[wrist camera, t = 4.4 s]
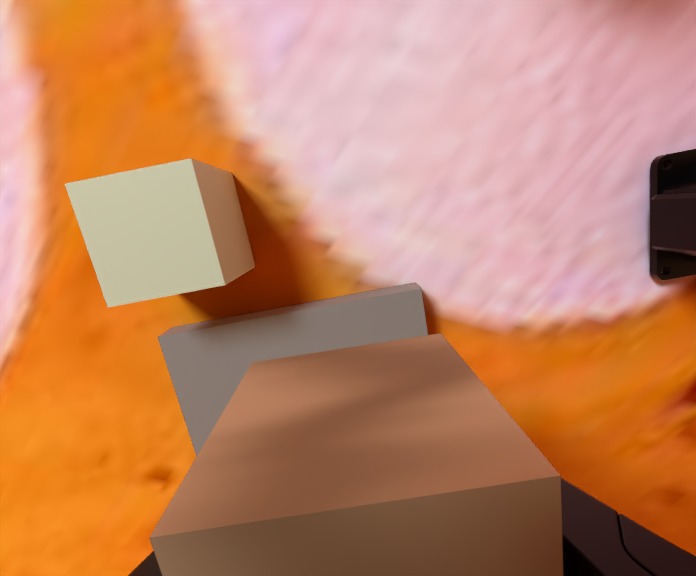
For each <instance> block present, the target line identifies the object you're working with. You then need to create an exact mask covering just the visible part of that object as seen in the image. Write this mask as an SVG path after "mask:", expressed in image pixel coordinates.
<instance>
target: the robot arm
mask: <svg viewBox="0 0 696 576" xmlns="http://www.w3.org/2000/svg"><path fill="white" fill-rule="evenodd" d="M663 162H665V168H664V169H663V167H662V165H663ZM663 267H664V271H663V272H662V273H661V271H662V269H663ZM650 272H651V275H652V276H653V277H654V278H657V279H661V280H668V279H673V278H679V277H684V276H690V275H695V274H696V149H693V150H687V151H682V152H677V153H672V154H667V155H662V156H658V157H656V158H655V159H654V160H653V162H652V163H651V168H650ZM561 509H562V547H563V576H696V556H694V555H692V554H691V553H689V552H687V551H685V550H683V549H681V548H679V547H677V546H676V545H674V544H672V543H670V542H669V541H667V540H665V539H664V538H662V537H660V536H658V535H657V534H655V533H653V532H651V531H650V530H648V529H646V528H644V527H643V526H641V525H639V524H638V523H636V522H634V521H633V520H631V519H629V518H628V517H626V516H624V515H623V514H619V515H618V513H617V511H616V510H614V509H612V508H611V507H609V506H607V505H606V504H604V503H602V502H601V501H599V500H597V499H596V498H594V497H592V496H591V495H589V494H587V493H585V492H584V491H582V490H580V489H579V488H577V487H575V486H574V485H572V484H570V483H569V482H567V481H565V480H564V479H562V478H561ZM128 576H162V573H161V570H160V567H159V564H158V561H157V558H156V555H155V553H154V551H153V552H152V553H151V554H150V555H149V556H148V557H147V558H146V559H145V560H144V561H142V562H141V563H140V564H139V565H138V566H137V567H136V568H135V569H134V570H133V571H132V572H131V573H130V574H129V575H128Z"/></svg>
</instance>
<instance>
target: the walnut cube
mask: <svg viewBox="0 0 696 576" xmlns="http://www.w3.org/2000/svg"><path fill="white" fill-rule="evenodd" d="M149 538H150V541H151V544H152V547H153V550H154V553H155V555H156V558H157V561H158V564H159V567H160V570H161V573H162V576H563V547H562V509H561V475H560V474H559V473H558V472H557V471H556V469H555V468H554V467H553V466H552V465H551V463H550V462H549V461H548V460H547V459H546V458H545V456H544V455H543V454H542V453H541V452H540V450H539V449H538V448H537V447H536V446H535V444H534V443H533V442H532V441H531V440H530V438H529V437H528V436H527V435H526V434H525V433H524V431H523V430H522V429H521V428H520V427H519V425H518V424H517V423H516V422H515V421H514V419H513V418H512V417H511V416H510V415H509V414H508V412H507V411H506V410H505V409H504V408H503V406H502V405H501V404H500V403H499V402H498V400H497V399H496V398H495V397H494V396H493V395H492V393H491V392H490V391H489V390H488V389H487V387H486V386H485V385H484V384H483V383H482V381H481V380H480V379H479V378H478V377H477V376H476V374H475V373H474V372H473V371H472V370H471V368H470V367H469V366H468V365H467V364H466V362H465V361H464V360H463V359H462V358H461V357H460V355H459V354H458V353H457V352H456V351H455V349H454V348H453V347H452V346H451V345H450V343H449V342H448V341H447V340H446V339H445V338H444V336H443V335H442V334H441V333H438V334H432V335H425V336H419V337H413V338H406V339H400V340H393V341H387V342H381V343H374V344H368V345H361V346H355V347H348V348H342V349H336V350H329V351H323V352H316V353H310V354H304V355H297V356H291V357H284V358H278V359H271V360H265V361H259V362H252V363H251V365H250V367H249V368H248V370H247V372H246V374H245V375H244V377H243V379H242V380H241V382H240V384H239V386H238V387H237V389H236V391H235V392H234V394H233V396H232V397H231V399H230V401H229V403H228V404H227V406H226V408H225V409H224V411H223V413H222V415H221V416H220V418H219V420H218V421H217V423H216V425H215V426H214V428H213V430H212V432H211V433H210V435H209V437H208V438H207V440H206V442H205V444H204V445H203V447H202V449H201V450H200V452H199V454H198V456H197V457H196V459H195V461H194V462H193V464H192V466H191V467H190V469H189V471H188V473H187V474H186V476H185V478H184V479H183V481H182V483H181V485H180V486H179V488H178V490H177V491H176V493H175V495H174V496H173V498H172V500H171V502H170V503H169V505H168V507H167V508H166V510H165V512H164V514H163V515H162V517H161V519H160V520H159V522H158V524H157V525H156V527H155V529H154V531H153V532H152V534H151V536H150V537H149Z"/></svg>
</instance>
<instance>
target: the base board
mask: <svg viewBox="0 0 696 576" xmlns="http://www.w3.org/2000/svg"><path fill="white" fill-rule="evenodd" d="M425 335H428V332H427V325H426V318H425V311H424V304H423V297H422V290H421V288H420V287H419V286H418V285H417V284H416V283H410V284H405V285H399V286H394V287H388V288H383V289H378V290H372V291H367V292H362V293H356V294H351V295H345V296H340V297H335V298H329V299H324V300H318V301H313V302H308V303H302V304H297V305H292V306H286V307H281V308H275V309H270V310H265V311H259V312H254V313H248V314H243V315H238V316H232V317H227V318H222V319H216V320H211V321H205V322H200V323H195V324H189V325H184V326H178V327H173V328H171V329H169V330H168V331H166V332H165V333H163V334H162V335H160V336H159V337H158V340H159V343H160V346H161V349H162V352H163V355H164V358H165V361H166V364H167V367H168V370H169V373H170V376H171V379H172V382H173V385H174V389H175V392H176V395H177V398H178V401H179V404H180V407H181V410H182V413H183V416H184V419H185V422H186V425H187V428H188V431H189V434H190V437H191V441H192V444H193V447H194V450H195V453H196V456H198V454H199V452H200V450H201V449H202V447H203V445H204V444H205V442H206V440H207V438H208V437H209V435H210V433H211V432H212V430H213V428H214V426H215V425H216V423H217V421H218V420H219V418H220V416H221V415H222V413H223V411H224V409H225V408H226V406H227V404H228V403H229V401H230V399H231V397H232V396H233V394H234V392H235V391H236V389H237V387H238V386H239V384H240V382H241V380H242V379H243V377H244V375H245V374H246V372H247V370H248V368H249V367H250V365H251V363H252V362H259V361H265V360H271V359H278V358H284V357H291V356H297V355H304V354H310V353H316V352H323V351H329V350H336V349H342V348H348V347H355V346H361V345H368V344H374V343H381V342H387V341H393V340H400V339H406V338H413V337H419V336H425Z"/></svg>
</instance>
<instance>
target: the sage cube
mask: <svg viewBox="0 0 696 576" xmlns="http://www.w3.org/2000/svg"><path fill="white" fill-rule="evenodd" d="M65 186H66V189H67V192H68V195H69V198H70V201H71V203H72V206H73V209H74V212H75V215H76V218H77V221H78V223H79V226H80V229H81V232H82V235H83V238H84V241H85V243H86V246H87V249H88V252H89V255H90V258H91V261H92V263H93V266H94V269H95V272H96V275H97V278H98V281H99V284H100V286H101V289H102V292H103V295H104V298H105V301H106V304H107V306H108V307H113V306H118V305H123V304H129V303H134V302H139V301H144V300H150V299H155V298H160V297H166V296H171V295H176V294H182V293H187V292H192V291H197V290H203V289H208V288H213V287H219V286H224V285H227V284H228V283H230V282H231V281H233V280H235V279H236V278H238V277H240V276H241V275H243V274H245V273H246V272H248V271H250V270H251V269H253V268H255V263H254V259H253V255H252V251H251V247H250V243H249V239H248V235H247V231H246V227H245V223H244V219H243V215H242V211H241V207H240V203H239V199H238V195H237V191H236V187H235V183H234V179H233V175H232V173H230V172H228V171H225V170H222V169H219V168H216V167H214V166H211V165H208V164H205V163H202V162H200V161H197V160H194V159H186V160H181V161H176V162H171V163H166V164H161V165H156V166H151V167H146V168H141V169H136V170H131V171H126V172H121V173H116V174H111V175H106V176H101V177H96V178H91V179H86V180H81V181H76V182H71V183H66V184H65Z"/></svg>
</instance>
